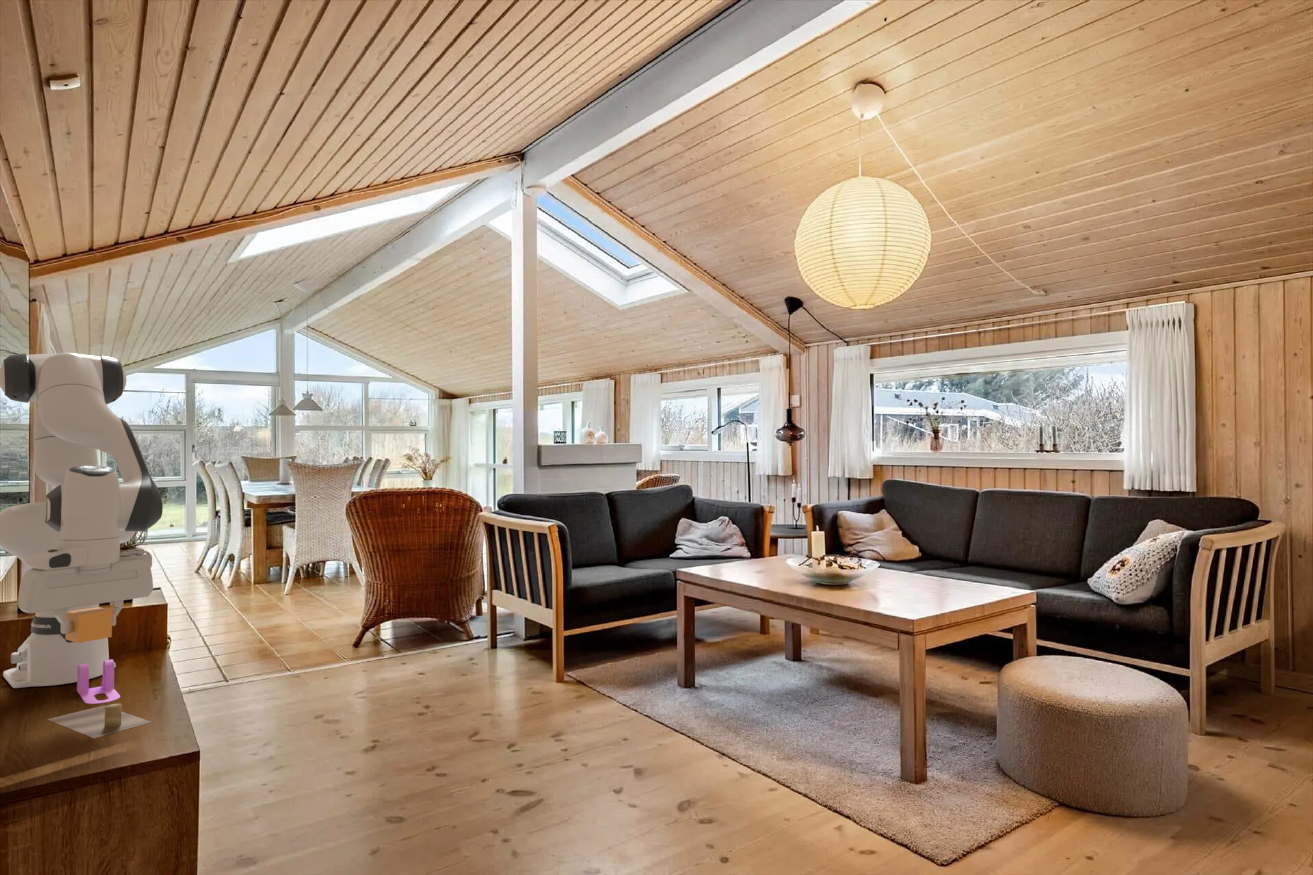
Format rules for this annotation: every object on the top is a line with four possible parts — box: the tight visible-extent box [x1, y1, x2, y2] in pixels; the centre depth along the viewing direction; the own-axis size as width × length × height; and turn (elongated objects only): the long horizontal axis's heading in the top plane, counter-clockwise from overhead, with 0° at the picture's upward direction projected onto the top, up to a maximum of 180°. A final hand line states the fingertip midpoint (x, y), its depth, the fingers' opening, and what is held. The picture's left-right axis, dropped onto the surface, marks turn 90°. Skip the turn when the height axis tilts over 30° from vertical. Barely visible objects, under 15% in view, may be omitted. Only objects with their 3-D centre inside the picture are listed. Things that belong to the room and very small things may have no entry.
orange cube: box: [65, 606, 113, 643], centre depth 137 cm, size 5×5×5 cm
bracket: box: [76, 659, 121, 705], centre depth 149 cm, size 13×6×7 cm, turn 45°
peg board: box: [46, 703, 153, 739], centre depth 134 cm, size 18×9×5 cm, turn 59°
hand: (88, 629), depth 137 cm, fingers closed on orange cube, 5 cm apart
